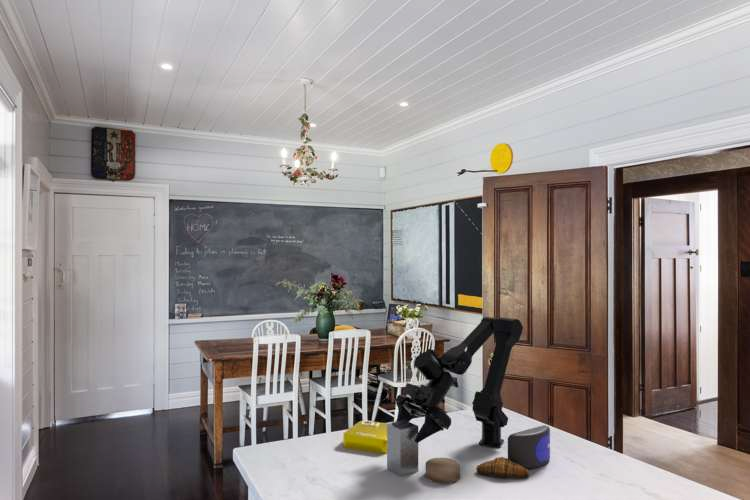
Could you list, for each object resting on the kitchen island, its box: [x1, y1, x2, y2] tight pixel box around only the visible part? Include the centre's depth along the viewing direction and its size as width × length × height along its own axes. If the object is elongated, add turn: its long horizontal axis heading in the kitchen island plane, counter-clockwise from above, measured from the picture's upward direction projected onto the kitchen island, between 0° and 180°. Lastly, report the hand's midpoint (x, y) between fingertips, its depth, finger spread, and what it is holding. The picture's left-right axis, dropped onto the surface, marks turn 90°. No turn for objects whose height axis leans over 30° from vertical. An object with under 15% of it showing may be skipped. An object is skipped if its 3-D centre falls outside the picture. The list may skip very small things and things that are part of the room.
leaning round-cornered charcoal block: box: [507, 425, 551, 470], centre depth 139 cm, size 16×5×9 cm, turn 123°
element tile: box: [342, 419, 389, 455], centre depth 156 cm, size 15×15×5 cm
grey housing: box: [386, 420, 419, 477], centre depth 136 cm, size 6×6×12 cm
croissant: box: [475, 456, 530, 479], centre depth 133 cm, size 14×7×5 cm, turn 79°
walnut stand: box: [425, 457, 462, 485], centre depth 132 cm, size 9×9×3 cm
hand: (405, 436), depth 136 cm, fingers open, 9 cm apart
